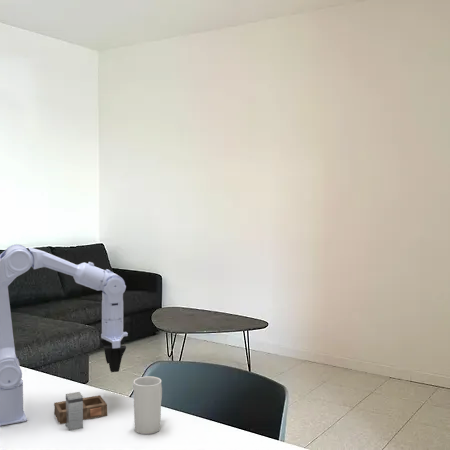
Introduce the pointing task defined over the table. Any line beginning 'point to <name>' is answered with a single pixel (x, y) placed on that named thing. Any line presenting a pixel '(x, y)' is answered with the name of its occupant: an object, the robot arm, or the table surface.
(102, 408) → the port block
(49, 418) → the table surface
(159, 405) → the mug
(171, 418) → the table surface
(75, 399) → the plug
